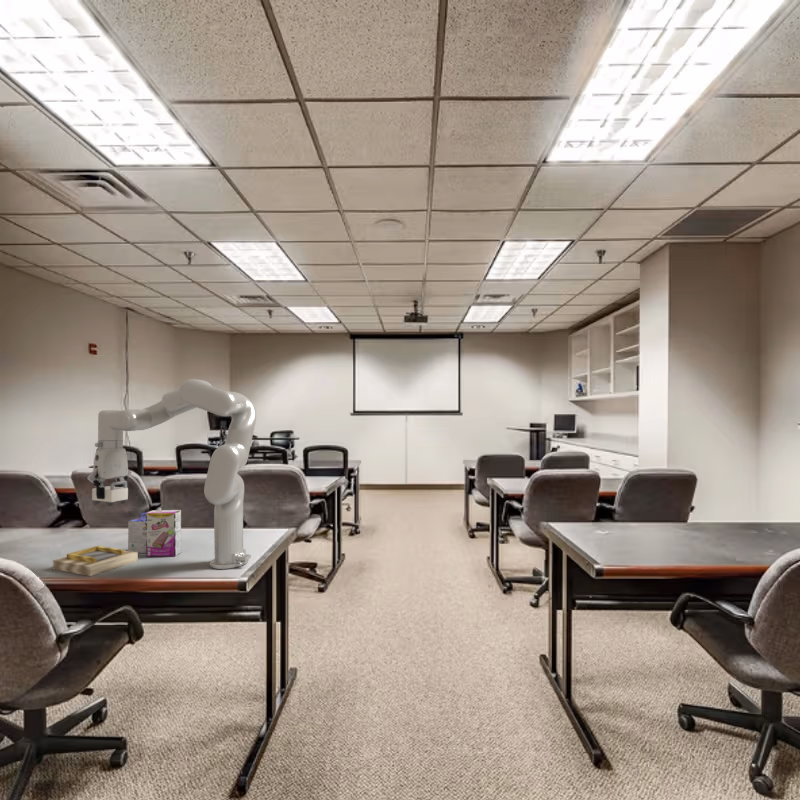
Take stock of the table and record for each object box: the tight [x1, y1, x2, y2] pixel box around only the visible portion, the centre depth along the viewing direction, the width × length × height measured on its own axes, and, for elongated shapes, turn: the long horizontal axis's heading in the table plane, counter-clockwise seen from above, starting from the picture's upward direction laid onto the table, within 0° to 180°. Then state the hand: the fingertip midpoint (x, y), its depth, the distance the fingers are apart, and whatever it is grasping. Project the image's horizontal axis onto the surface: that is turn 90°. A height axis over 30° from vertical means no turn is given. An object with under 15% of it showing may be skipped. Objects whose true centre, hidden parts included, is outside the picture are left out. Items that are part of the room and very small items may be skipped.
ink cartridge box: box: [127, 512, 147, 554], centre depth 185 cm, size 10×6×14 cm, turn 84°
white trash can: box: [91, 480, 129, 507], centre depth 167 cm, size 10×6×8 cm, turn 66°
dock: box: [52, 545, 139, 577], centre depth 168 cm, size 20×17×4 cm
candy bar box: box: [145, 509, 182, 558], centre depth 179 cm, size 11×5×16 cm, turn 90°
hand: (110, 496), depth 167 cm, fingers closed on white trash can, 6 cm apart
